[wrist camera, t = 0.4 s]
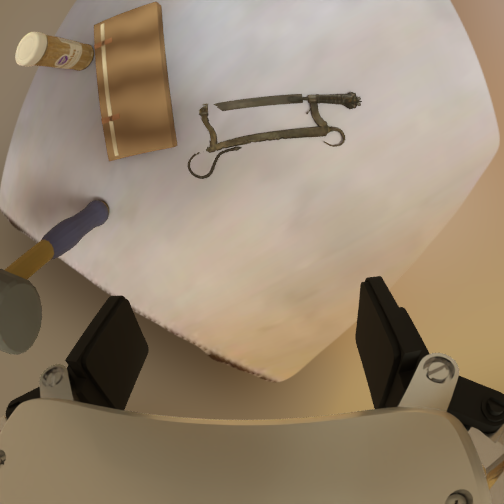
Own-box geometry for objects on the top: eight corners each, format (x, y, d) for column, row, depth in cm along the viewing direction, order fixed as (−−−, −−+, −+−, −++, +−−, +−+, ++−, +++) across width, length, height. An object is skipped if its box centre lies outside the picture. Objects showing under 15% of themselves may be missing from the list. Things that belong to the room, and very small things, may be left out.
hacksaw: (358, 92, 32) (362, 92, 31) (363, 165, 37) (366, 167, 35) (179, 108, 35) (176, 108, 33) (190, 179, 39) (187, 182, 38)
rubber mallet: (135, 188, 40) (-20, 307, 13) (137, 234, 43) (17, 378, 16) (71, 186, 40) (-74, 277, 13) (75, 228, 43) (-47, 337, 16)
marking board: (100, 27, 28) (93, 25, 26) (161, 5, 27) (156, 1, 25) (115, 158, 38) (108, 161, 36) (177, 145, 37) (172, 147, 35)
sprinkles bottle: (84, 74, 32) (24, 71, 20) (67, 64, 31) (9, 59, 18) (100, 49, 30) (43, 36, 18) (83, 39, 29) (26, 27, 17)
